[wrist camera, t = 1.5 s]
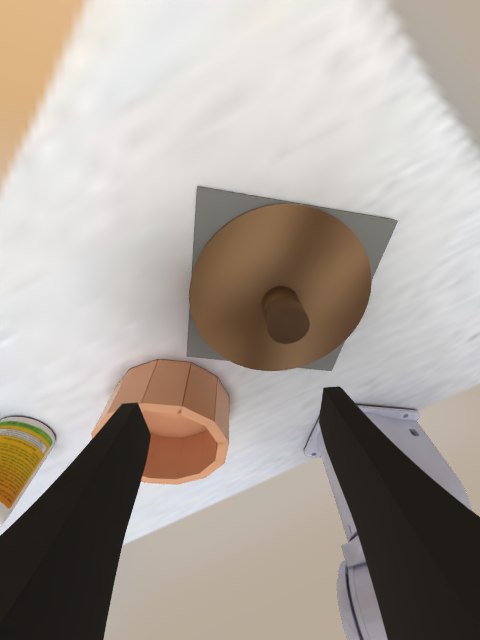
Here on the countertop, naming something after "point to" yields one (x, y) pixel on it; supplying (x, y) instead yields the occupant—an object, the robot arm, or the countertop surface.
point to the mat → (226, 206)
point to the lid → (280, 287)
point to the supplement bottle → (20, 458)
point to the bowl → (176, 419)
